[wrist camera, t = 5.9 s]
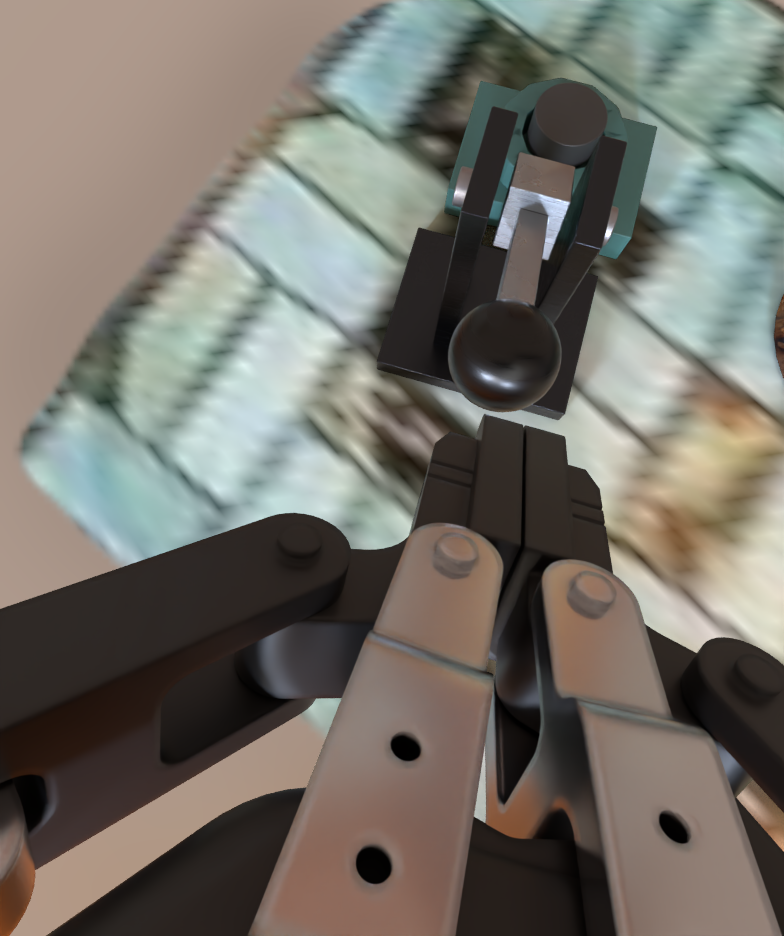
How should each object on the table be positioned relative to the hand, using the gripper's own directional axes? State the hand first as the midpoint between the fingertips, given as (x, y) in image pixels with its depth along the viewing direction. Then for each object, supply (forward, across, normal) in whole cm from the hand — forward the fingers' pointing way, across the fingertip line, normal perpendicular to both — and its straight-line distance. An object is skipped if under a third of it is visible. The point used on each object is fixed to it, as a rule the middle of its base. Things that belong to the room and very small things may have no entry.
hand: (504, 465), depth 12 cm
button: (+28, -1, -3) cm, 28 cm away
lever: (+12, 0, +1) cm, 12 cm away
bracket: (+24, 0, +6) cm, 24 cm away
